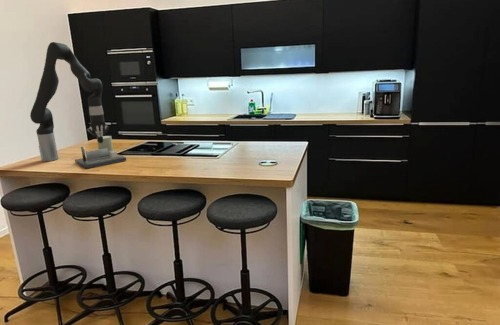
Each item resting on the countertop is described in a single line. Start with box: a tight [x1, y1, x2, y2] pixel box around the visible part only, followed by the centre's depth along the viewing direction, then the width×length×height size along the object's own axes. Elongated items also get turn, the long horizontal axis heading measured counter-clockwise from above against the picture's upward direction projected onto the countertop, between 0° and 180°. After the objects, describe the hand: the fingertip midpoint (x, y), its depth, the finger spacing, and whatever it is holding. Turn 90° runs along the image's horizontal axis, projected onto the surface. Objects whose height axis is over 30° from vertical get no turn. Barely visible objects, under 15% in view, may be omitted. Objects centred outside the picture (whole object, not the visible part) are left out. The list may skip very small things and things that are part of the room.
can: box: [96, 135, 114, 153], centre depth 236 cm, size 9×9×12 cm
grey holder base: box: [74, 146, 127, 170], centre depth 217 cm, size 24×20×10 cm
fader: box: [109, 150, 118, 158], centre depth 217 cm, size 3×4×4 cm
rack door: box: [85, 148, 109, 159], centre depth 221 cm, size 13×2×4 cm, turn 131°
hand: (100, 142), depth 211 cm, fingers closed
